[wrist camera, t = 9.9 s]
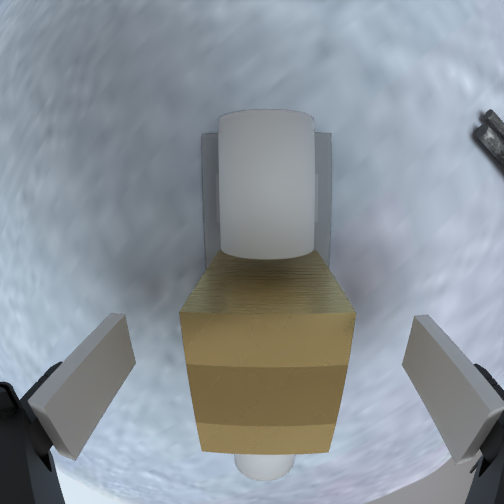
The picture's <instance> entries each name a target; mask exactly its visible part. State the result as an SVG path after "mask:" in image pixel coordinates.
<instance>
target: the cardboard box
mask: <svg viewBox="0 0 504 504" xmlns="http://www.w3.org/2000/svg"><path fill="white" fill-rule="evenodd" d="M179 313H180V322H181V330H182V338H183V345H184V352H185V359H186V366H187V373H188V379H189V385H190V391H191V397H192V403H193V409H194V414H195V419H196V425H197V430H198V435H199V440H200V445H201V449H202V451H206V452H217V453H230V454H252V455H291V454H312V453H326V452H329V449H330V445H331V441H332V437H333V433H334V429H335V425H336V421H337V417H338V412H339V408H340V403H341V399H342V394H343V389H344V384H345V379H346V373H347V368H348V362H349V357H350V351H351V344H352V338H353V331H354V324H355V317H356V311H355V310H354V308H353V307H352V305H351V303H350V302H349V300H348V298H347V297H346V295H345V294H344V292H343V290H342V289H341V287H340V285H339V284H338V282H337V281H336V279H335V278H334V276H333V274H332V273H331V271H330V270H329V268H328V266H327V265H326V263H325V262H324V260H323V259H322V257H321V256H320V254H319V253H318V251H312V252H311V253H309V254H306V255H303V256H299V257H294V258H286V259H249V258H241V257H235V256H232V255H228V254H226V253H224V252H223V251H218V253H217V254H216V256H215V257H214V259H213V260H212V262H211V263H210V265H209V266H208V268H207V269H206V271H205V273H204V274H203V276H202V277H201V279H200V280H199V282H198V283H197V285H196V287H195V288H194V290H193V291H192V293H191V294H190V296H189V297H188V299H187V301H186V302H185V304H184V305H183V307H182V309H181V310H180V312H179Z"/></svg>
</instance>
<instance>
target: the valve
mask: <svg viewBox="0 0 504 504" xmlns="http://www.w3.org/2000/svg"><path fill="white" fill-rule="evenodd" d="M484 119H485V120H486V121H487V122H488V123H489V124H490V125H491V126H492V127H493V128H494V130H495V131H496V132H497V133H498V134H499V135H500V137H501V138H502V139H503V140H504V123H503V121H502V120H501V119H500V118H499V117H498V116H497V115H496V113H495V112H494V111H493V110H491V109H490V110H488V111H487V112H486V114H485V115H484ZM476 136H477V138H478V139H479V140H480V141H481V142H482V143H483V144H484V145H485V146H486V147H487V149H488V150H489V151H490V152H491V153H492V154H493V155H494V156H495V158H496V159H497V160H498V161H499V162H500V164H501V165H502V166H503V167H504V143H503V142H502V141H501V139H500V138H499V137H498V136H497V135H496V134H495V132H494V131H493V130H492V129H491V128H490V127H489V126H488V125H487V124H483V125H481V126H480V127H479V128H478V129H477V131H476Z"/></svg>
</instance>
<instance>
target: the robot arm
mask: <svg viewBox="0 0 504 504" xmlns="http://www.w3.org/2000/svg"><path fill="white" fill-rule="evenodd" d="M135 364H136V361H135V357H134V353H133V349H132V345H131V340H130V336H129V331H128V327H127V322H126V317H125V314H115V313H111V314H110V315H109V316H108V317H107V318H106V319H105V320H104V321H103V322H102V323H101V324H100V325H99V326H98V327H97V328H96V329H95V330H94V331H93V332H92V333H91V334H90V335H89V336H88V337H87V338H86V339H85V340H84V341H83V342H82V343H81V344H80V345H79V346H78V347H77V348H76V349H75V350H74V351H73V352H72V353H71V354H70V355H69V356H68V357H67V358H66V360H65V361H64V362H59V363H57V364H55V365H54V366H52V367H50V368H49V369H48V370H47V371H46V372H45V374H44V376H42V377H41V378H40V379H39V380H38V382H36V383H35V384H34V385H33V386H32V387H31V388H30V389H29V390H28V392H27V393H26V394H25V395H24V396H23V397H22V398H21V399H20V400H19V398H18V397H17V395H16V393H15V391H14V389H13V387H12V385H11V384H10V383H7V382H0V504H65V501H64V498H63V494H62V491H61V488H60V484H59V481H58V477H57V472H56V468H55V464H54V460H53V456H52V454H51V452H50V448H51V447H52V445H54V447H55V448H56V450H57V451H58V453H59V454H60V455H62V456H65V457H67V458H70V459H72V460H75V461H76V459H77V458H78V456H79V454H80V452H81V451H82V449H83V447H84V446H85V444H86V442H87V441H88V439H89V437H90V436H91V434H92V432H93V431H94V429H95V427H96V426H97V424H98V423H99V421H100V419H101V418H102V416H103V414H104V413H105V411H106V410H107V408H108V406H109V405H110V403H111V402H112V400H113V398H114V397H115V395H116V394H117V392H118V390H119V389H120V387H121V386H122V384H123V382H124V381H125V379H126V378H127V376H128V375H129V373H130V372H131V370H132V368H133V367H134V365H135ZM402 366H403V368H404V369H405V371H406V373H407V374H408V376H409V378H410V380H411V381H412V383H413V385H414V387H415V388H416V390H417V392H418V394H419V395H420V397H421V399H422V401H423V403H424V404H425V406H426V408H427V410H428V412H429V413H430V415H431V417H432V419H433V421H434V423H435V425H436V427H437V428H438V430H439V432H440V434H441V436H442V438H443V440H444V442H445V444H446V446H447V448H448V450H449V452H450V454H451V456H452V458H453V460H454V462H455V464H456V465H458V464H460V463H463V462H466V461H468V460H471V459H472V458H473V457H474V455H475V454H476V453H477V451H478V450H479V448H480V450H481V452H482V456H481V457H480V458H479V460H478V461H477V462H476V464H475V465H474V466H473V468H472V469H471V471H470V473H472V472H473V471H474V470H475V469H476V472H475V475H474V478H473V482H472V485H471V488H470V491H469V494H468V497H467V499H466V502H465V504H504V390H503V389H502V388H501V387H500V385H497V382H496V381H495V380H494V378H493V379H492V376H491V375H490V374H489V373H488V371H487V370H486V369H484V368H483V367H481V366H480V365H478V364H472V362H471V361H470V360H469V359H468V358H467V357H466V356H465V354H464V353H463V352H462V351H461V350H460V349H459V348H458V347H457V345H456V344H455V343H454V342H453V341H452V340H451V339H450V338H449V337H448V336H447V334H446V333H445V332H444V331H443V330H442V329H441V328H440V327H439V326H438V325H437V324H436V323H435V322H434V321H433V319H432V318H431V317H430V316H429V315H417V316H414V319H413V323H412V328H411V332H410V336H409V340H408V344H407V348H406V352H405V356H404V359H403V363H402Z"/></svg>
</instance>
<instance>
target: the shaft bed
mask: <svg viewBox="0 0 504 504" xmlns="http://www.w3.org/2000/svg"><path fill="white" fill-rule="evenodd" d="M202 182H203V215H204V239H205V259H206V269H207V268H208V266H209V265H210V263H211V262H212V260H213V259H214V257H215V256H216V254H217V253H218V251H223V252H224V253H226V254H228V255H232V256H235V257H241V258H249V259H286V258H294V257H299V256H303V255H306V254H309V253H311V252H312V251H318V253H319V254H320V256H321V257H322V259H323V260H324V262H325V263H326V265H327V266H328V268H329V257H330V236H331V201H332V145H331V133H316V132H314V118H313V117H312V116H311V115H308V114H305V113H302V112H297V111H290V110H280V109H255V110H244V111H237V112H232V113H228V114H225V115H223V116H221V117H219V119H218V133H209V134H202ZM234 457H235V464H236V467H237V469H238V470H239V471H240V472H241V473H242V474H243V475H245V476H246V477H248V478H250V479H253V480H258V481H271V480H275V479H278V478H281V477H283V476H284V475H286V474H287V473H288V472H289V471H290V470H291V468H292V467H293V464H294V460H295V454H291V455H252V454H234Z"/></svg>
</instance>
